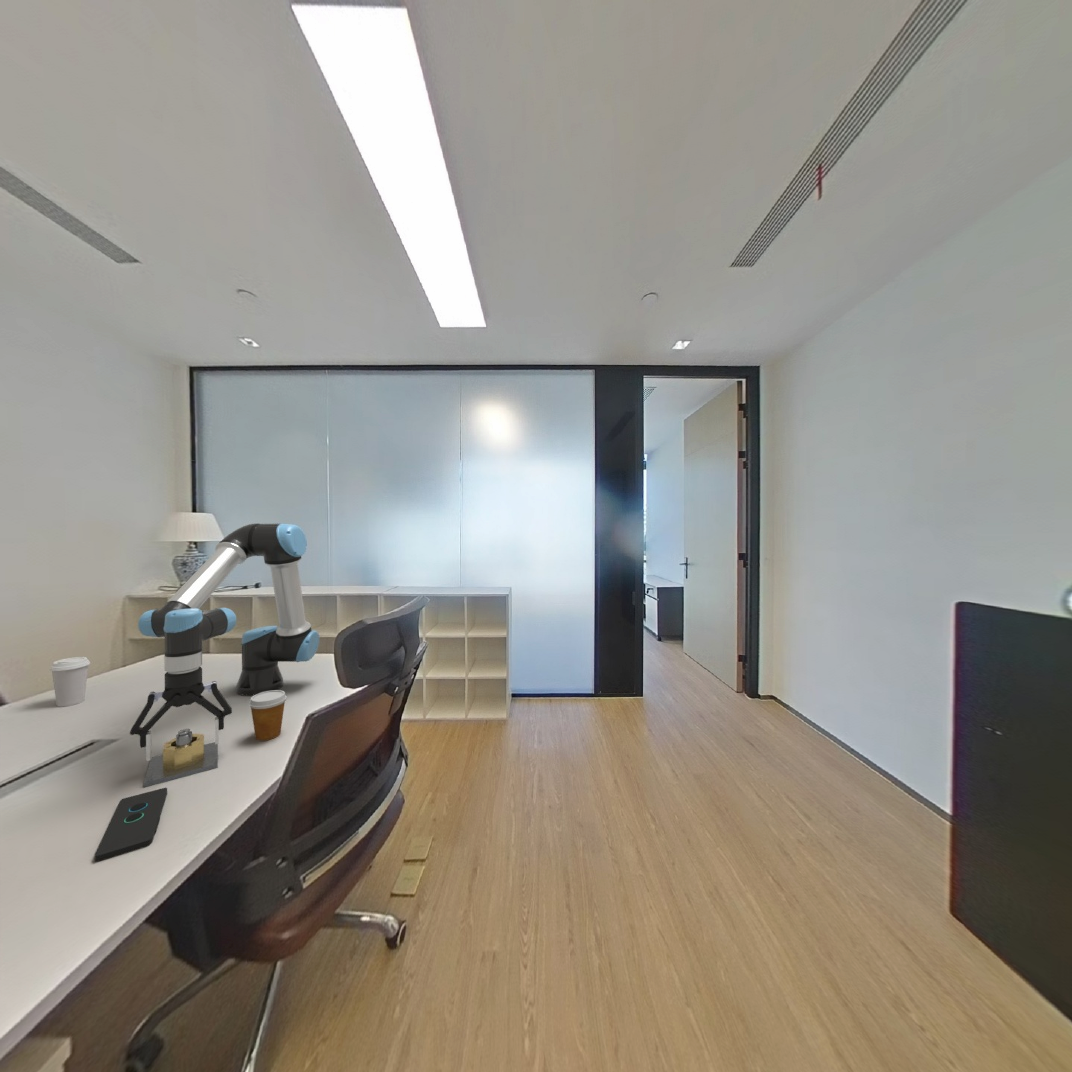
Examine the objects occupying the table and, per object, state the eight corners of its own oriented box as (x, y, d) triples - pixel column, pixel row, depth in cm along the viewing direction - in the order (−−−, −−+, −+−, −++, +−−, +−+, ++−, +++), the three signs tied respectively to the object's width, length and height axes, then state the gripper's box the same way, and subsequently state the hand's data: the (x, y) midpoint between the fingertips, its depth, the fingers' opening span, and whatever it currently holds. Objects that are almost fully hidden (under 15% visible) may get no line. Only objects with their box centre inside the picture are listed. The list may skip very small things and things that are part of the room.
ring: (204, 749, 115) (204, 731, 115) (203, 762, 109) (203, 743, 109) (165, 758, 110) (165, 739, 110) (162, 772, 104) (162, 752, 104)
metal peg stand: (217, 744, 119) (217, 714, 119) (217, 767, 108) (217, 733, 108) (151, 760, 111) (151, 728, 111) (143, 787, 100) (143, 750, 100)
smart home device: (168, 785, 98) (152, 838, 82) (168, 793, 98) (152, 846, 82) (119, 798, 94) (92, 856, 77) (120, 806, 94) (92, 865, 77)
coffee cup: (44, 705, 144) (43, 662, 143) (82, 695, 153) (82, 654, 152) (58, 710, 140) (57, 666, 140) (96, 700, 149) (96, 658, 149)
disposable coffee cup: (294, 730, 128) (294, 692, 128) (264, 746, 119) (264, 704, 119) (271, 725, 131) (271, 687, 131) (241, 740, 122) (240, 699, 122)
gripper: (241, 657, 120) (241, 730, 120) (119, 674, 105) (120, 758, 105) (242, 664, 114) (242, 741, 114) (113, 683, 99) (114, 773, 99)
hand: (184, 750), depth 109 cm, fingers open, 13 cm apart
